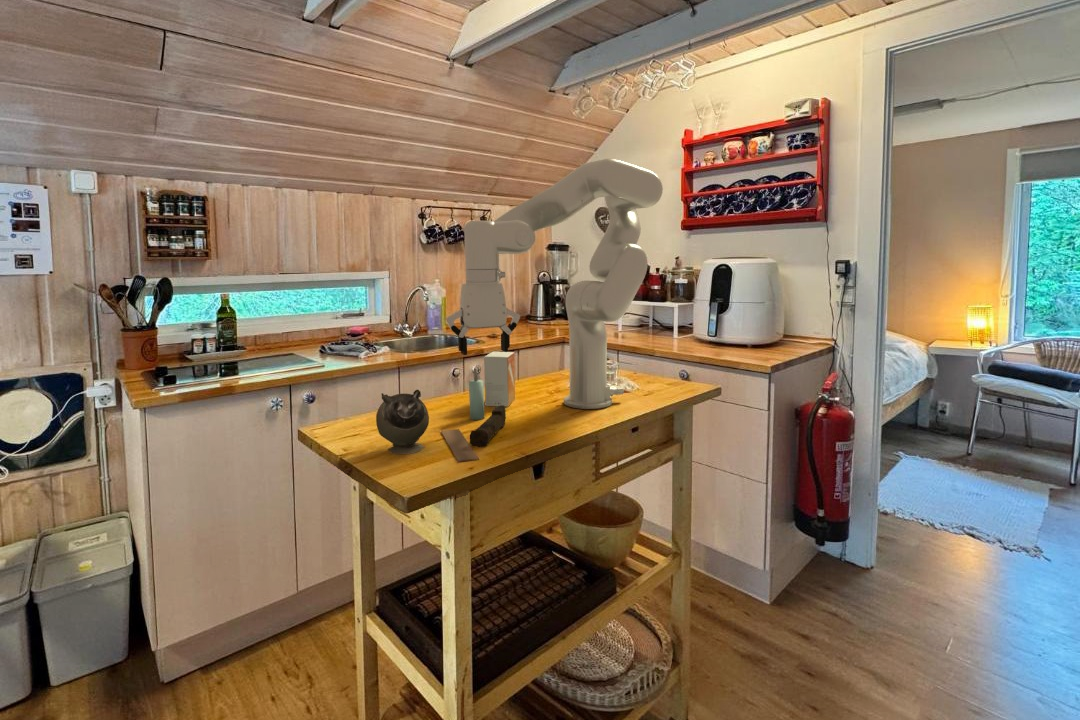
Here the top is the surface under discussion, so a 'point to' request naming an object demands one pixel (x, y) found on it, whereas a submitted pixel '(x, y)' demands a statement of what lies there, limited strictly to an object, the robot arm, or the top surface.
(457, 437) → the joist strip
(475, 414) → the green ice pop
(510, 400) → the small box
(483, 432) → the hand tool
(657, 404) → the top surface
